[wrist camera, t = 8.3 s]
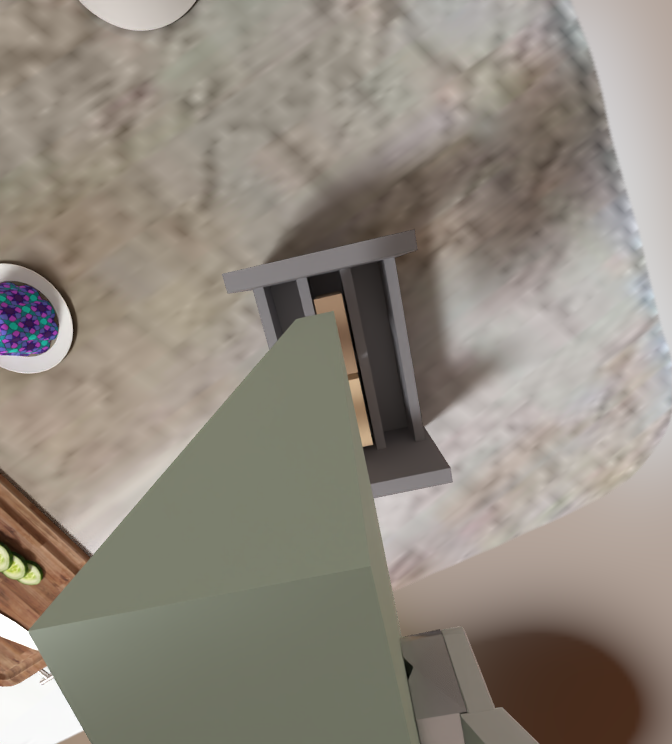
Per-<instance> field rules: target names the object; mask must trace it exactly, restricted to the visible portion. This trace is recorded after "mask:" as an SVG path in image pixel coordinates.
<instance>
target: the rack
mask: <svg viewBox="0 0 672 744" xmlns="http://www.w3.org/2000/svg"><path fill="white" fill-rule="evenodd" d="M416 250H418V249H417V243H416V236H415V230H410V231H405V232H401V233H397V234H392V235H388V236H384V237H379V238H375V239H371V240H366V241H362V242H358V243H353V244H349V245H345V246H341V247H336V248H332V249H328V250H323V251H319V252H315V253H310V254H306V255H302V256H297V257H293V258H289V259H284V260H280V261H276V262H271V263H267V264H263V265H259V266H254V267H250V268H246V269H241V270H237V271H233V272H228V273H224V274H222V276H223V279H224V283H225V286H226V290H227V293H235V292H243V291H250V290H253V292H254V296H255V299H256V303H257V307H258V310H259V314H260V318H261V321H262V325H263V329H264V332H265V336H266V339H267V343H268V347H269V350H270V349H271V348H272V346H273V345H274V344H275V343H276V342H277V341H278V339H279V338H280V337H281V336H282V335H283V334H284V332H285V331H286V330H287V329H288V328H289V327H290V325H291V324H292V323H293V322H294V321H295V320H296V319H298V318H303V317H308V316H312V315H317V312H316V308H315V304H314V299H315V297H316V296H318V295H322V294H327V293H331V292H335V291H340V292H341V294H342V298H343V303H344V308H345V313H346V317H347V322H348V327H349V332H350V336H351V341H352V346H353V350H354V355H355V360H356V365H357V369H358V372H357V373H358V377H359V381H360V385H361V390H362V395H363V400H364V404H365V409H366V414H367V419H368V423H369V428H370V433H371V437H372V442H373V445H369V446H364V447H363V451H364V456H365V461H366V465H367V470H368V475H369V480H370V484H371V489H372V494H373V498H377V497H382V496H387V495H392V494H397V493H402V492H407V491H412V490H417V489H422V488H427V487H432V486H437V485H442V484H446V483H451V482H453V481H452V474H451V468H450V466H449V465H448V463H447V462H446V460H445V458H444V457H443V455H442V454H441V452H440V451H439V449H438V448H437V446H436V444H435V443H434V441H433V440H432V438H431V437H430V435H429V434H428V432H427V431H426V429H425V427H424V426H423V424H422V418H421V412H420V406H419V400H418V394H417V388H416V382H415V376H414V370H413V365H412V359H411V353H410V347H409V341H408V335H407V329H406V323H405V317H404V311H403V305H402V299H401V293H400V287H399V281H398V275H397V270H396V264H395V257H398V256H401V255H404V254H407V253H410V252H413V251H416Z"/></svg>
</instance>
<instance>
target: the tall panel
mask: <svg viewBox="0 0 672 744" xmlns="http://www.w3.org/2000/svg"><path fill="white" fill-rule="evenodd" d="M28 633H29V635H30V637H31V638H32V640H33V642H34V644H35V645H36V647H37V649H38V651H39V652H40V654H41V656H42V658H43V659H44V661H45V663H46V665H47V666H48V668H49V670H50V672H51V673H52V675H53V677H54V679H55V680H56V682H57V684H58V686H59V688H60V689H61V691H62V693H63V695H64V696H65V698H66V700H67V702H68V703H69V705H70V707H71V709H72V710H73V712H74V714H75V716H76V717H77V719H78V721H79V723H80V724H81V726H82V728H83V730H84V731H85V733H86V735H87V737H88V738H89V740H90V742H91V743H92V744H421V741H420V736H419V731H418V727H417V722H416V717H415V712H414V707H413V702H412V697H411V692H410V687H409V682H408V676H407V672H406V667H405V662H404V657H403V652H402V646H401V641H400V637H402V636H401V631H400V626H399V621H398V616H397V611H396V607H395V602H394V597H393V592H392V587H391V582H390V577H389V572H388V567H387V562H386V557H385V552H384V547H383V543H382V538H381V533H380V528H379V523H378V518H377V513H376V508H375V503H374V498H373V494H372V489H371V484H370V480H369V475H368V470H367V465H366V461H365V456H364V451H363V447H362V442H361V437H360V432H359V428H358V423H357V418H356V414H355V409H354V404H353V399H352V395H351V390H350V385H349V381H348V376H347V371H346V367H345V362H344V357H343V352H342V348H341V343H340V338H339V334H338V329H337V324H336V319H335V315H334V311H331V312H326V313H322V314H317V315H312V316H308V317H303V318H298V319H296V320H295V321H294V322H293V323H292V324H291V325H290V327H289V328H288V329H287V330H286V331H285V332H284V334H283V335H282V336H281V337H280V338H279V339H278V341H277V342H276V343H275V344H274V345H273V346H272V348H271V349H270V350H269V351H268V352H267V353H266V355H265V356H264V357H263V358H262V359H261V360H260V362H259V363H258V364H257V365H256V366H255V367H254V368H253V370H252V371H251V372H250V373H249V374H248V375H247V377H246V378H245V379H244V380H243V381H242V382H241V384H240V385H239V386H238V387H237V388H236V389H235V391H234V392H233V393H232V394H231V395H230V396H229V398H228V399H227V400H226V401H225V402H224V403H223V405H222V406H221V407H220V408H219V409H218V410H217V412H216V413H215V414H214V415H213V416H212V417H211V418H210V420H209V421H208V422H207V423H206V424H205V425H204V427H203V428H202V429H201V430H200V431H199V432H198V434H197V435H196V436H195V437H194V438H193V439H192V441H191V442H190V443H189V444H188V445H187V446H186V448H185V449H184V450H183V451H182V452H181V453H180V455H179V456H178V457H177V458H176V459H175V460H174V462H173V463H172V464H171V465H170V466H169V467H168V468H167V470H166V471H165V472H164V473H163V474H162V475H161V477H160V478H159V479H158V480H157V481H156V482H155V484H154V485H153V486H152V487H151V488H150V489H149V491H148V492H147V493H146V494H145V495H144V496H143V498H142V499H141V500H140V501H139V502H138V503H137V505H136V506H135V507H134V508H133V509H132V510H131V512H130V513H129V514H128V515H127V516H126V517H125V518H124V520H123V521H122V522H121V523H120V524H119V525H118V527H117V528H116V529H115V530H114V531H113V532H112V534H111V535H110V536H109V537H108V538H107V539H106V541H105V542H104V543H103V544H102V545H101V546H100V548H99V549H98V550H97V551H96V552H95V553H94V555H93V556H92V557H91V558H90V559H89V560H88V562H87V563H86V564H85V565H84V566H83V567H82V568H81V570H80V571H79V572H78V573H77V574H76V575H75V577H74V578H73V579H72V580H71V581H70V582H69V584H68V585H67V586H66V587H65V588H64V589H63V591H62V592H61V593H60V594H59V595H58V596H57V598H56V599H55V600H54V601H53V602H52V603H51V605H50V606H49V607H48V608H47V609H46V610H45V612H44V613H43V614H42V615H41V616H40V617H39V618H38V620H37V621H36V622H35V623H34V624H33V625H32V627H31V628H30V629H29V630H28Z"/></svg>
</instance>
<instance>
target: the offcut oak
mask: <svg viewBox="0 0 672 744" xmlns="http://www.w3.org/2000/svg"><path fill="white" fill-rule="evenodd" d="M347 376H348V381H349V385H350V390H351V395H352V399H353V404H354V409H355V414H356V418H357V423H358V428H359V432H360V437H361V442H362V447H364V446H369V445H373V442H372V437H371V433H370V428H369V423H368V419H367V414H366V409H365V404H364V400H363V395H362V390H361V385H360V381H359V377H358V373H352V374H348V375H347Z"/></svg>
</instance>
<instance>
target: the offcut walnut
mask: <svg viewBox="0 0 672 744" xmlns="http://www.w3.org/2000/svg"><path fill="white" fill-rule="evenodd" d="M314 304H315V308H316V312H317V314H322V313H326V312H331V311H334V315H335V319H336V324H337V329H338V334H339V338H340V343H341V348H342V352H343V357H344V362H345V367H346V371H347V375H348V374H352V373H357V372H358V369H357V365H356V360H355V355H354V350H353V346H352V341H351V336H350V332H349V327H348V322H347V317H346V313H345V308H344V303H343V298H342V294H341V292H340V291H335V292H331V293H327V294H322V295H318V296H316V297H315V299H314Z"/></svg>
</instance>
